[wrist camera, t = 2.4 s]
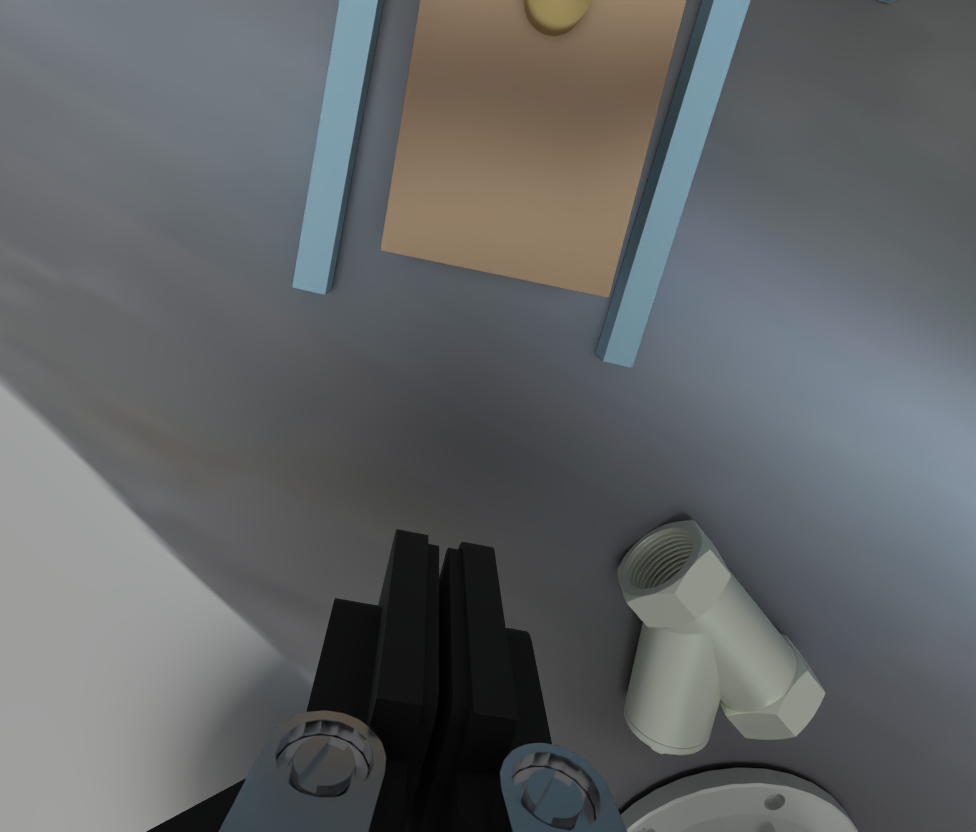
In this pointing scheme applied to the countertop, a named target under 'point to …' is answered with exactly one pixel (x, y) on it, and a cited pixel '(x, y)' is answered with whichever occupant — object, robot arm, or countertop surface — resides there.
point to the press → (660, 199)
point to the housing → (528, 134)
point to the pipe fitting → (706, 649)
